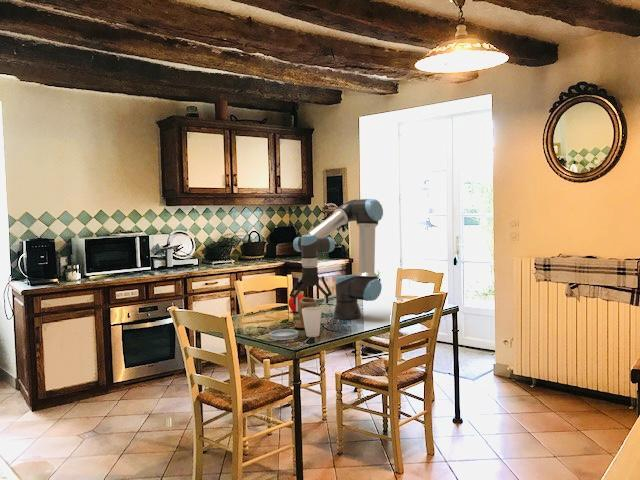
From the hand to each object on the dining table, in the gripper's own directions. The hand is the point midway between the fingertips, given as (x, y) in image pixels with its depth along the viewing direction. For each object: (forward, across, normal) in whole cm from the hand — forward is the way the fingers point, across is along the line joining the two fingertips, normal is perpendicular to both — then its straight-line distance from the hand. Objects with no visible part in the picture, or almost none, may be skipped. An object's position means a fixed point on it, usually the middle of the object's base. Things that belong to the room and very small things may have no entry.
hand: (311, 310), depth 274 cm
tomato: (+12, -9, +60) cm, 62 cm away
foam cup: (+12, 0, 0) cm, 12 cm away
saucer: (+12, -14, 0) cm, 18 cm away
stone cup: (+12, -3, +20) cm, 24 cm away
